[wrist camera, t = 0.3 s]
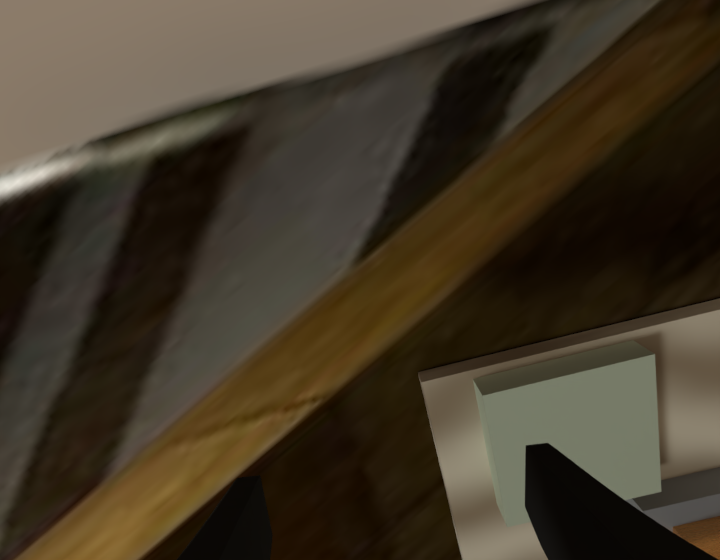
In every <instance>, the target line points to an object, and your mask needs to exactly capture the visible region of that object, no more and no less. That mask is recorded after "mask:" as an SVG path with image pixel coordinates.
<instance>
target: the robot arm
mask: <svg viewBox="0 0 720 560" xmlns="http://www.w3.org/2000/svg"><path fill="white" fill-rule="evenodd" d="M525 508H526V511H527V513H528V516H529V518H530V521H531V523H532V526H533V528H534V531H535V533H536V535H537V538H538V540H539V542H540V545H541V547H542V549H543V551H544V553H545V555H546V556H547V558H548V560H718V559H717V558H715V557H713V556H711V555H710V554H708V553H706V552H705V551H703V550H701V549H700V548H698V547H696V546H694V545H693V544H691V543H689V542H688V541H686V540H684V539H683V538H681V537H679V536H678V535H676V534H675V533H673V532H671V531H670V530H668V529H667V528H665V527H664V526H662V525H661V524H659V523H658V522H656V521H655V520H653V519H652V518H650V517H649V516H647V515H646V514H644V513H643V512H641V511H640V510H638V509H637V508H635V507H634V506H632V505H631V504H630V503H628V502H627V501H625V500H624V499H622V498H621V497H620V496H618V495H617V494H615V493H614V492H613V491H611V490H610V489H609V488H607V487H606V486H604V485H603V484H602V483H600V482H599V481H598V480H596V479H595V478H594V477H592V476H591V475H590V474H588V473H587V472H586V471H584V470H583V469H582V468H581V467H579V466H578V465H577V464H575V463H574V462H573V461H571V460H570V459H569V458H568V457H566V456H565V455H564V454H562V453H561V452H560V451H558V450H557V449H556V448H554V447H553V446H552V445H550V444H549V443H542V444H533V445H526V453H525ZM271 544H272V531H271V526H270V521H269V516H268V511H267V507H266V502H265V497H264V492H263V487H262V482H261V478H260V476H251V477H242V478H237V479H236V480H235V482H234V483H233V484H232V486H231V487H230V488H229V490H228V491H227V493H226V494H225V496H224V497H223V498H222V500H221V501H220V503H219V504H218V505H217V507H216V508H215V510H214V511H213V512H212V514H211V515H210V517H209V518H208V519H207V521H206V522H205V523H204V525H203V526H202V527H201V529H200V530H199V531H198V533H197V534H196V535H195V537H194V538H193V539H192V541H191V542H190V543H189V545H188V546H187V547H186V549H185V550H184V551H183V552H182V554H181V555H180V556H179V557H178V559H177V560H270V554H271Z"/></svg>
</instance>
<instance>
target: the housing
mask: <svg viewBox="0 0 720 560" xmlns="http://www.w3.org/2000/svg"><path fill="white" fill-rule="evenodd" d="M673 533H675V534H676V535H678V536H679V537H681V538H683V539H684V540H686V541H688V542H689V543H691V544H693V545H694V546H696V547H698V548H700V549H701V550H703V551H705V552H706V553H708V554H710V555H711V556H713V557H715V558H717V559H718V560H720V516H717V517H713V518H709V519H704V520H700V521H695V522H691V523H687V524H682V525H678V526H673Z"/></svg>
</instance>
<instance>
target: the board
mask: <svg viewBox="0 0 720 560" xmlns="http://www.w3.org/2000/svg"><path fill="white" fill-rule="evenodd" d="M631 340H634V341H635V342H637V343H638V344H640V345H641V346H643V347H645V348H646V349H648V350H649V351H651V352H653V353H654V354H655V365H656V387H657V408H658V429H659V451H660V472H661V480H665V479H670V478H674V477H678V476H683V475H687V474H691V473H696V472H700V471H704V470H708V469H713V468H717V467H720V298H719V299H715V300H711V301H707V302H703V303H699V304H695V305H691V306H687V307H683V308H678V309H674V310H670V311H666V312H662V313H658V314H654V315H650V316H646V317H642V318H638V319H633V320H629V321H625V322H621V323H617V324H613V325H609V326H605V327H601V328H597V329H593V330H589V331H584V332H580V333H576V334H572V335H568V336H564V337H560V338H556V339H552V340H548V341H544V342H540V343H535V344H531V345H527V346H523V347H519V348H515V349H511V350H507V351H503V352H499V353H495V354H491V355H486V356H482V357H478V358H474V359H470V360H466V361H462V362H458V363H454V364H450V365H446V366H441V367H437V368H433V369H429V370H425V371H421V372H418V375H419V379H420V383H421V388H422V392H423V396H424V400H425V405H426V409H427V413H428V417H429V421H430V426H431V430H432V434H433V438H434V443H435V447H436V451H437V455H438V459H439V464H440V468H441V472H442V476H443V481H444V485H445V489H446V493H447V498H448V502H449V506H450V510H451V514H452V519H453V523H454V527H455V531H456V536H457V540H458V544H459V548H460V552H461V557H462V560H548V558H547V556H546V555H545V553H544V551H543V549H542V547H541V545H540V542H539V540H538V538H537V535H536V533H535V531H534V528H533V526H532V523H531V522H528V523H524V524H520V525H515V526H511V527H507V526H506V523H505V521H504V519H503V517H502V514H501V512H500V510H499V508H498V505H497V502H496V497H495V491H494V486H493V481H492V476H491V471H490V466H489V461H488V455H487V450H486V445H485V440H484V435H483V430H482V424H481V419H480V414H479V409H478V404H477V399H476V394H475V388H474V383H473V379H475V378H479V377H483V376H487V375H491V374H495V373H500V372H504V371H508V370H512V369H516V368H520V367H524V366H528V365H532V364H537V363H541V362H545V361H549V360H553V359H557V358H561V357H565V356H569V355H574V354H578V353H582V352H586V351H590V350H594V349H598V348H602V347H606V346H611V345H615V344H619V343H623V342H627V341H631Z"/></svg>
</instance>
